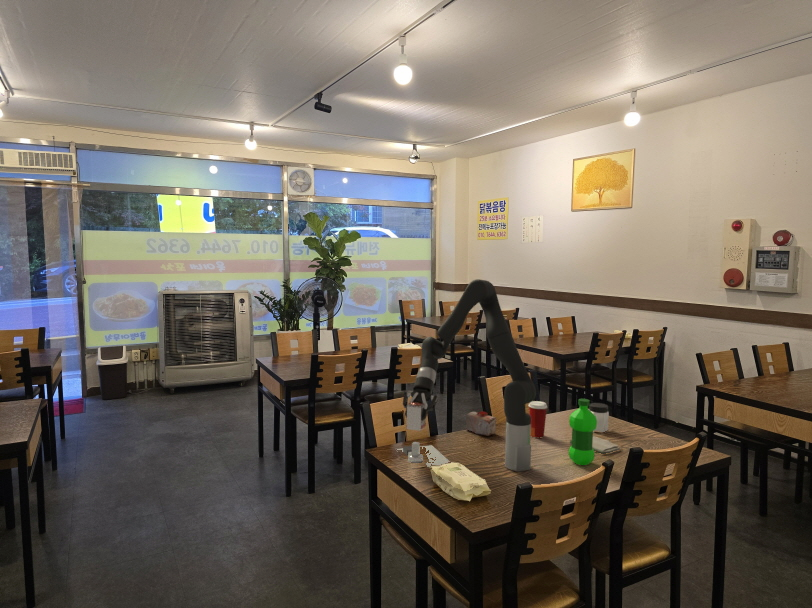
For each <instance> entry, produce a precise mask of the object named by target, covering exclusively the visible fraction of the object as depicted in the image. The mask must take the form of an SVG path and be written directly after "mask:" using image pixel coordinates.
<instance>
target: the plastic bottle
mask: <svg viewBox="0 0 812 608" xmlns="http://www.w3.org/2000/svg"><path fill="white" fill-rule="evenodd" d="M577 401H578V402H577V404H578V405H577V406H579V408H577V409H575V410H574V411H573V412H572V413H570V415H569V419H568V421H569V422H568V423H569V426H570V428H571V430H572V431H571V439H572V444H571V446H570V447H569V449H568V456H569V459H570V460H571V461H572V462H573V463H574V464H575V463H576V465H577V464H579V465H578V466H581V465H586V466H588V465H590V464H591V463H592V462H593V461H594V460H595V452H594V450H593V448H592V442H593V436H594V432H593V431H594V430H595V429H596V426H597V419H596V416H595V415H594V414H593V413H592V412H591V411H590V410H589V405H590V401H591V400H590V399H587V398H579V399H578V400H577ZM587 464H588V465H587Z"/></svg>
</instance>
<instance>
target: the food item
mask: <svg viewBox="0 0 812 608" xmlns="http://www.w3.org/2000/svg"><path fill="white" fill-rule="evenodd" d="M497 419H498V417H496V416H491V415H488V412H486V411H481V410H480V411H478V412H476V411H470V412H468V413H467V414H466V427H465V428H466V429H465V430H466V431H468V430H469V431H468V432H471V431H472V432H473V433H475V434H476V435H482V436H487V437H489V436H492V435H495V434H496V426H497Z"/></svg>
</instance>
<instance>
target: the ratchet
mask: <svg viewBox="0 0 812 608" xmlns="http://www.w3.org/2000/svg"><path fill="white" fill-rule="evenodd" d="M420 444H421V443H420V442H418V441H413V442H412V443H411V445H406V446H402V448H403V452H404V453H405V454H406V455H407V456H408V461H409V462H411V463H422V462H423V455H422V454H420V446H421V445H420Z"/></svg>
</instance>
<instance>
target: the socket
mask: <svg viewBox="0 0 812 608" xmlns="http://www.w3.org/2000/svg"><path fill="white" fill-rule="evenodd" d="M409 402H410V401H409ZM409 402H408V403H409ZM424 405H425V403H423V402H415V401H414V402H410V403H409V404H407V418H406V426H405V428H406V429H407V430H410V431H418V432H421V431H422V430H424V429H425V427H426V425H427V423H426V419H424V421H423V420H422V419H421V416H422V412H423V409H424Z"/></svg>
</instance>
